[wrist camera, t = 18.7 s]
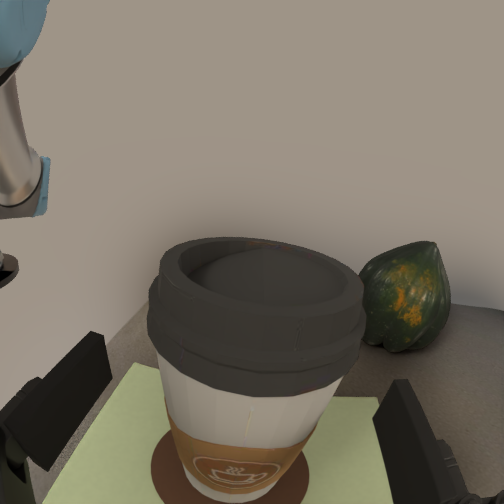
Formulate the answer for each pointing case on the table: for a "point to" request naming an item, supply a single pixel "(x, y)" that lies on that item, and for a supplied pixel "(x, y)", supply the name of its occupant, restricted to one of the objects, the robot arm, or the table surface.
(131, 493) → the place mat
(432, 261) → the squash
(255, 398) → the coffee cup
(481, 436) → the table surface
